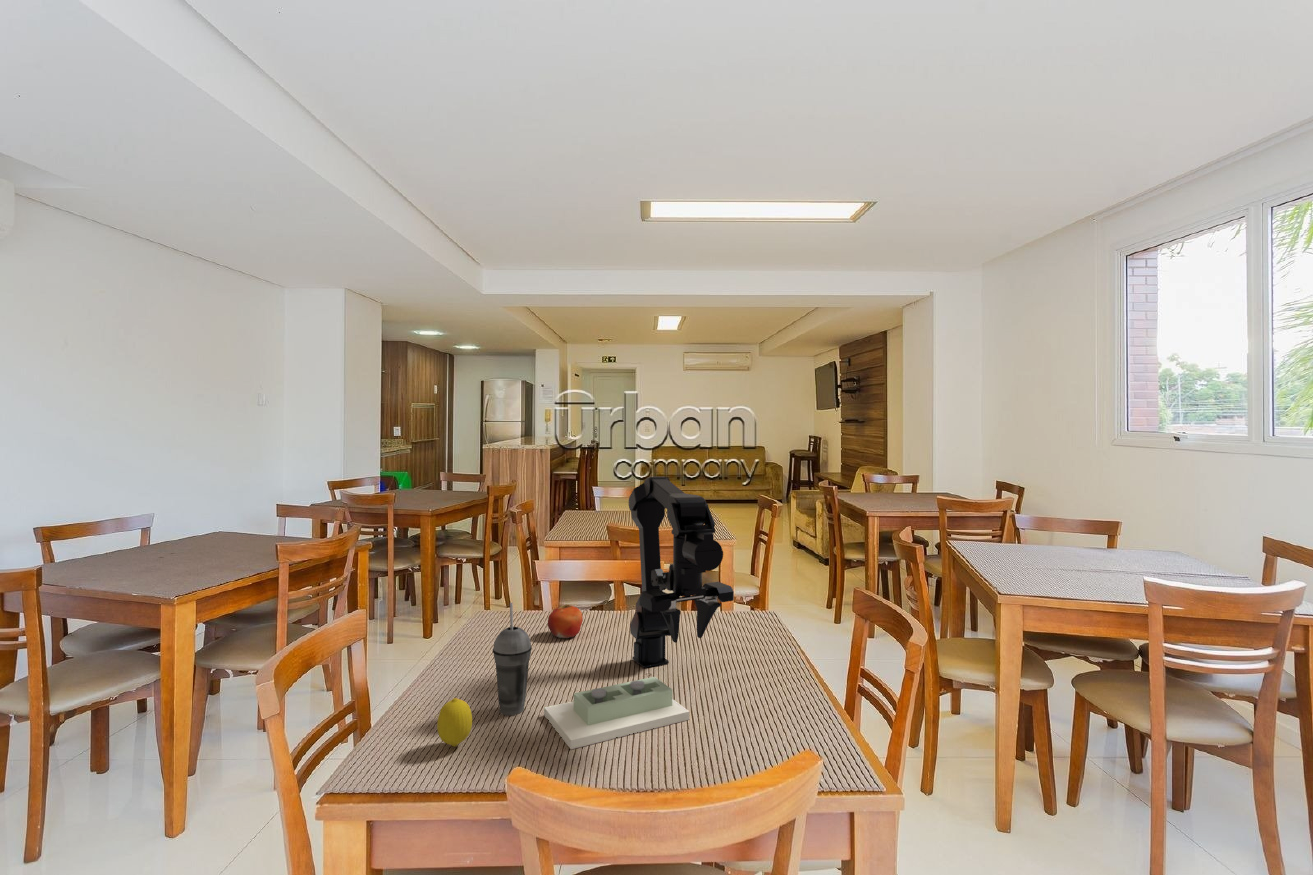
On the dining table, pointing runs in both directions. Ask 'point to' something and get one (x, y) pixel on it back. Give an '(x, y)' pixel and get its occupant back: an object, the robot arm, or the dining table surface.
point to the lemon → (454, 722)
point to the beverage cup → (512, 667)
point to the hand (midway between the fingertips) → (687, 639)
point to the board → (583, 734)
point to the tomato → (565, 621)
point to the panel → (622, 701)
